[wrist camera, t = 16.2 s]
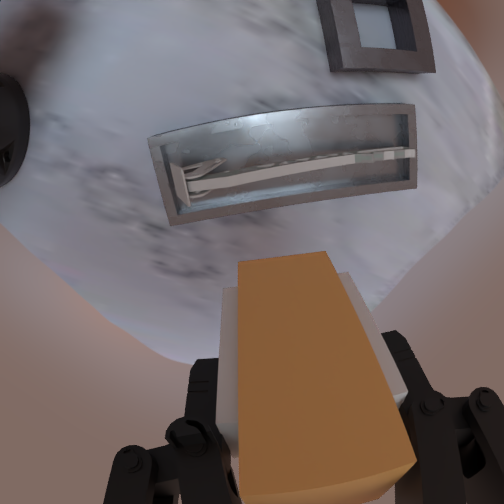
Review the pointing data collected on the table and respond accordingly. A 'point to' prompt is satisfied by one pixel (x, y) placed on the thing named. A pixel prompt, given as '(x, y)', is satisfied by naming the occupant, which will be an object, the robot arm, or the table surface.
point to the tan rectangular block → (311, 391)
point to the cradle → (288, 157)
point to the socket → (377, 59)
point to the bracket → (270, 169)
